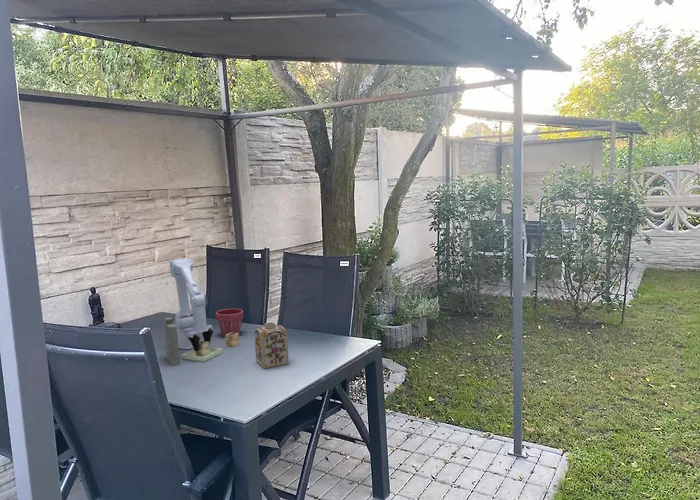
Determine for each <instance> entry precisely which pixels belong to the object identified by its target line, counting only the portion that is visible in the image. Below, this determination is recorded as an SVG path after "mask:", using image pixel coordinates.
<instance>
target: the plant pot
mask: <svg viewBox="0 0 700 500" xmlns="http://www.w3.org/2000/svg"><path fill="white" fill-rule="evenodd" d="M243 318H244V311H243V309H240V308H224V309H219V310H217V311H216V312H215V320H216V321H217V322H218V326H219V330H220V332H221V335H222V337H223V338H226V335H227V334H229V333H231V332H232V333H239V334H240V333H241V326H242V319H243Z"/></svg>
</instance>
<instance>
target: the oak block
mask: <svg viewBox="0 0 700 500" xmlns="http://www.w3.org/2000/svg"><path fill="white" fill-rule="evenodd" d="M225 345H226V348H236V347H238V346H240V333H232V332H231V333H229V334H227V335H226V337H225Z"/></svg>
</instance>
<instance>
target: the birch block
mask: <svg viewBox="0 0 700 500" xmlns="http://www.w3.org/2000/svg"><path fill="white" fill-rule="evenodd" d="M209 347H210V345H209V342H208V341H204V340H199V351H195V354H196V356H200V357H204V356H206V355H209V354H210V351H209Z"/></svg>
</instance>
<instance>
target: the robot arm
mask: <svg viewBox="0 0 700 500" xmlns="http://www.w3.org/2000/svg"><path fill="white" fill-rule="evenodd" d="M193 269H194V263H193V260H192V259H191V258H190V257H188V258H180V259H179V258H178V259H170V262H169V270H170V275H171V277H172V278H174V279H175V285H176V286H175V287H176V291H177V299H178V305H179V311H177V312H176V314H175V315H174V325H176V326H177V336H178V348H179V349H182V350H184V349H185V350H192V349H194V351H199V341H201V340H200V339H201V336H198V335H199V334H200V335H201V334H202V338H203V341H208V342H209V346H210V345H211V340H212V336H213V334H214V330H213V325H212V324H207V315H206V306H207V304H208V299H207V295H206V293H204V291H202V290H201V288H200V285H199V283H198V282H197V281H195V279H194V276H193Z"/></svg>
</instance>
